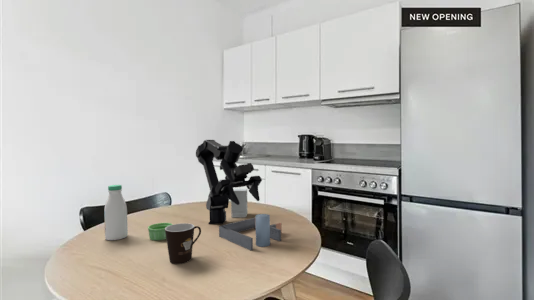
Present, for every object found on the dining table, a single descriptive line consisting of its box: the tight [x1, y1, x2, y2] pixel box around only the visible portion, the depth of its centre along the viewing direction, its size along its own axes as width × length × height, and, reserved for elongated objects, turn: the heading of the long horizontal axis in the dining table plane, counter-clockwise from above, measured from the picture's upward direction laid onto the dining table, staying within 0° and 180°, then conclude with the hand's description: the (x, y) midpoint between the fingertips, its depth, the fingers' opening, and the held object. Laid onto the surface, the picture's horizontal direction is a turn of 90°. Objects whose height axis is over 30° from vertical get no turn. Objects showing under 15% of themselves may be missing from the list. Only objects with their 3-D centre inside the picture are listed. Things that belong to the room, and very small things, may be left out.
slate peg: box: [254, 213, 271, 248], centre depth 101 cm, size 5×5×10 cm
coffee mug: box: [165, 222, 202, 265], centre depth 89 cm, size 12×9×10 cm
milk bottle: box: [103, 184, 129, 241], centre depth 111 cm, size 8×8×20 cm
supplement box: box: [230, 188, 249, 218], centre depth 140 cm, size 7×7×13 cm
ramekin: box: [147, 222, 174, 241], centre depth 110 cm, size 9×9×4 cm
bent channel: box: [218, 217, 283, 251], centre depth 109 cm, size 20×20×4 cm
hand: (249, 202), depth 106 cm, fingers open, 9 cm apart
